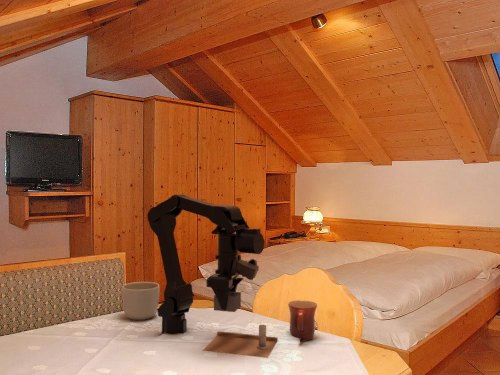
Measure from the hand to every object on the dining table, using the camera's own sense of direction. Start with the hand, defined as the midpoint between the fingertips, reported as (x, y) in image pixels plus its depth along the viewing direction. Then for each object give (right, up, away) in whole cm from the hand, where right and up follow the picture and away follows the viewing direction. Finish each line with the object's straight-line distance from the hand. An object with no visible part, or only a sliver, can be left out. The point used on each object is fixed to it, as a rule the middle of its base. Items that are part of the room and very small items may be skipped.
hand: (227, 306), depth 125 cm
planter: (-31, -11, +28) cm, 43 cm away
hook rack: (+4, -12, -1) cm, 12 cm away
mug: (+22, -12, +8) cm, 26 cm away
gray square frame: (0, 0, 0) cm, 0 cm away
